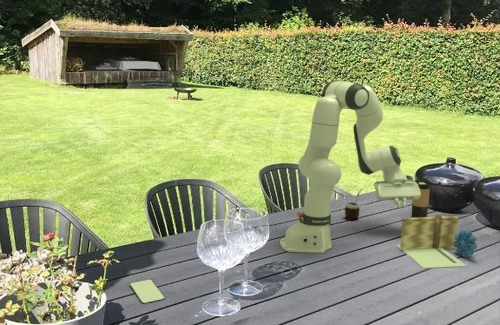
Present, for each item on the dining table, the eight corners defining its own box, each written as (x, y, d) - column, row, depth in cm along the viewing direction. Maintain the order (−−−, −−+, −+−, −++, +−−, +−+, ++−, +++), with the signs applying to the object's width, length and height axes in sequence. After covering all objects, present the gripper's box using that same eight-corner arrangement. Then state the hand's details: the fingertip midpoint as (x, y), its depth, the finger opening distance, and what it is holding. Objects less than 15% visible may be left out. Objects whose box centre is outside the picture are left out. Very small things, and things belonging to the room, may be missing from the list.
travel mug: (424, 219, 258) (428, 180, 253) (428, 224, 250) (432, 184, 246) (409, 218, 258) (412, 180, 254) (412, 223, 251) (415, 184, 247)
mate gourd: (343, 220, 254) (345, 191, 250) (345, 215, 261) (347, 187, 258) (359, 222, 251) (360, 192, 248) (360, 217, 259) (362, 188, 256)
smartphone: (165, 300, 171) (150, 281, 185) (165, 298, 171) (150, 279, 184) (142, 306, 167) (129, 285, 181) (142, 303, 167) (129, 283, 181)
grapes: (482, 260, 207) (486, 232, 204) (469, 263, 204) (473, 234, 202) (461, 250, 217) (464, 223, 215) (448, 252, 215) (451, 225, 212)
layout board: (423, 268, 198) (423, 267, 198) (396, 245, 221) (397, 244, 221) (466, 266, 201) (466, 265, 201) (435, 244, 224) (435, 243, 224)
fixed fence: (433, 249, 218) (437, 216, 214) (431, 247, 220) (434, 214, 217) (456, 248, 219) (459, 215, 216) (453, 246, 221) (456, 213, 218)
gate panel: (401, 248, 215) (404, 219, 213) (399, 247, 217) (402, 218, 214) (432, 247, 218) (435, 218, 215) (430, 245, 219) (433, 216, 217)
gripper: (375, 177, 230) (382, 205, 223) (417, 176, 233) (426, 203, 226) (370, 184, 236) (377, 211, 228) (412, 183, 239) (420, 210, 231)
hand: (402, 207), depth 227 cm, fingers closed
